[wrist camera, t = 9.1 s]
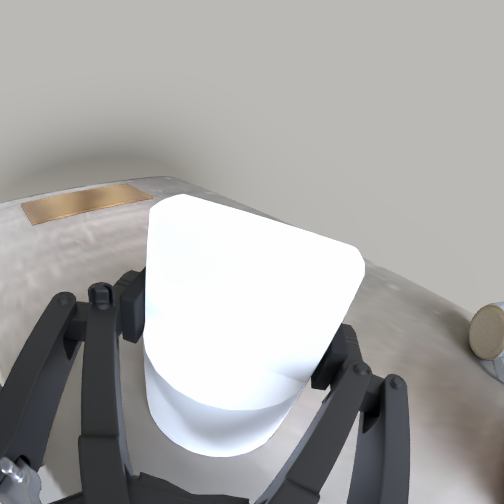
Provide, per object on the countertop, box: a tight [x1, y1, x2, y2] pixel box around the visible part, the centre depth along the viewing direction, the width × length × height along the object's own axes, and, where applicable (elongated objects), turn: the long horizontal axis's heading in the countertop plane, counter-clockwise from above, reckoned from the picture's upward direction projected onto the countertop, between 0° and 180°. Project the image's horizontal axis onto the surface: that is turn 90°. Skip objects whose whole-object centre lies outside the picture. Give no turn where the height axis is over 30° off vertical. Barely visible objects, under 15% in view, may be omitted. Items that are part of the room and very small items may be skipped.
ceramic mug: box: [469, 302, 504, 383], centre depth 23 cm, size 11×8×8 cm
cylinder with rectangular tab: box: [143, 194, 365, 457], centre depth 14 cm, size 9×9×12 cm
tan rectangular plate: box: [21, 184, 153, 225], centre depth 40 cm, size 22×9×1 cm, turn 146°
